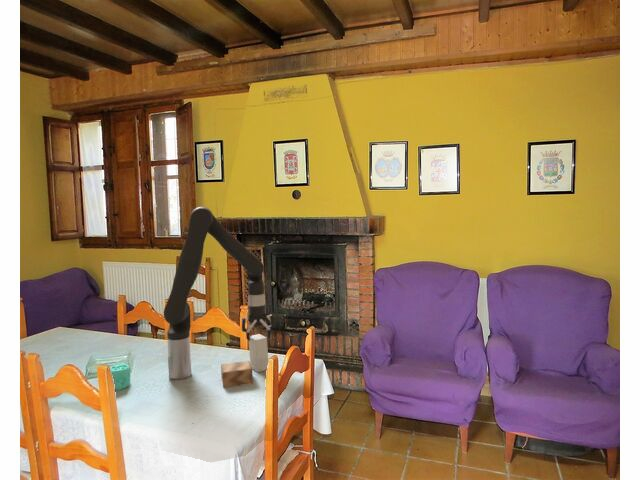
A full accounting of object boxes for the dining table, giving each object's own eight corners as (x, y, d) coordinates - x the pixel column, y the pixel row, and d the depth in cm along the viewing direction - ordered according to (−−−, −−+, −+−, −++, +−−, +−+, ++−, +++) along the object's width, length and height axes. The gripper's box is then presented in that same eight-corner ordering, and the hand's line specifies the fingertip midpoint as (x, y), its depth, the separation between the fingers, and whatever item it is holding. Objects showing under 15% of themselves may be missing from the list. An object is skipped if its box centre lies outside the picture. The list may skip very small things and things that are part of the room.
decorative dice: (109, 384, 177) (108, 365, 176) (130, 380, 179) (129, 362, 179) (107, 391, 169) (106, 372, 168) (129, 388, 172) (128, 369, 171)
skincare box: (269, 369, 188) (268, 337, 187) (256, 373, 185) (255, 340, 184) (261, 364, 195) (260, 332, 194) (249, 367, 192) (248, 335, 191)
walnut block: (223, 387, 171) (222, 372, 170) (221, 377, 181) (221, 363, 180) (252, 383, 175) (252, 368, 174) (249, 374, 184) (249, 360, 184)
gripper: (241, 307, 182) (243, 343, 183) (274, 303, 186) (275, 339, 187) (239, 303, 189) (241, 338, 191) (271, 300, 193) (272, 334, 195)
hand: (258, 339), depth 189 cm, fingers open, 8 cm apart
